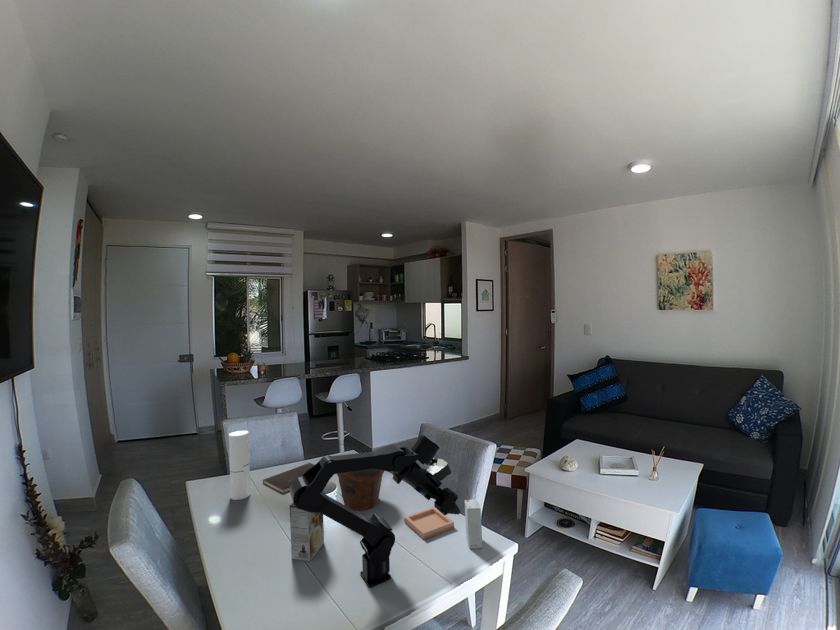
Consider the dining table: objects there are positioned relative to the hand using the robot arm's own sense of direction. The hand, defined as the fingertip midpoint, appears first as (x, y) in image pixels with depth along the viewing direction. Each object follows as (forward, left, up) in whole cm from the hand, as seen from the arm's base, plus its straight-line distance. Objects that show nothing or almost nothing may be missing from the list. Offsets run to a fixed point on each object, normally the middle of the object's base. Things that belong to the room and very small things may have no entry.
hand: (451, 505), depth 117 cm
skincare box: (+8, -1, -14) cm, 16 cm away
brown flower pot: (-10, +43, -14) cm, 46 cm away
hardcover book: (-25, +79, -14) cm, 84 cm away
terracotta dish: (+2, +15, -13) cm, 20 cm away
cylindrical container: (-48, +76, -13) cm, 91 cm away
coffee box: (-36, +24, -14) cm, 46 cm away
